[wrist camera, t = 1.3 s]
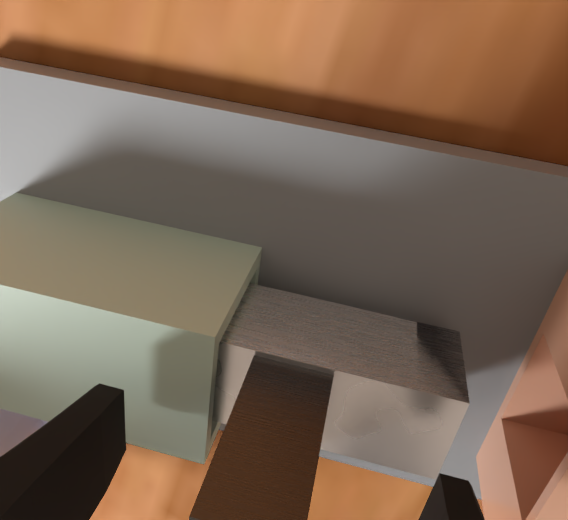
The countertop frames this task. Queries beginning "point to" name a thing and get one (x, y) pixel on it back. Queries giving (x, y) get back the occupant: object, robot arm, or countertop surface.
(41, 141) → the base board
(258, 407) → the sliding bolt
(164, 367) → the outer sleeve
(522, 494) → the socket block
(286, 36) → the countertop surface
